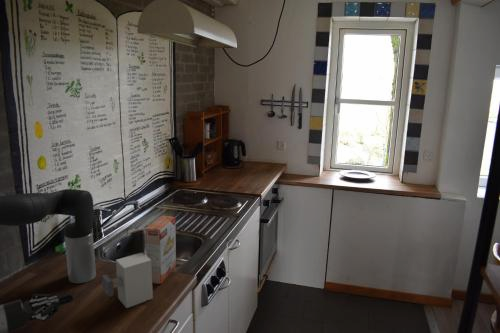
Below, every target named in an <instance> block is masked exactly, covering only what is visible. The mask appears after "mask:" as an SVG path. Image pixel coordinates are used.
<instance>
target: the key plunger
mask: <svg viewBox="0 0 500 333" xmlns="http://www.w3.org/2000/svg"><path fill="white" fill-rule="evenodd" d="M101 278H102V280H101V281H102V290H103V292H104V293H105V294H106V295H107V297H108V298H109V297H112V296H114V289H115V288H118V286H121V285H123V279H122V278H121V277H118V278H117V277H115V278H111V277H110V276H109V275H108V274H107V273H106V274H104V275H101Z"/></svg>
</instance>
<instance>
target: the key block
mask: <svg viewBox="0 0 500 333" xmlns="http://www.w3.org/2000/svg"><path fill="white" fill-rule="evenodd" d="M115 267H116V278H118V277H121V278H122V279H123V285H121V286H118V287H117V297H118V300H119V301H120V302H121V303H122V305H123V307H125V308H126V309H128V308H132V307H134V306H137V305H140V304H142V303H145V302H147V300H148V301H149V300H153V298H154V297H153V294H154V293H153V290H154V289H153V283H152V266H151V259H149V258H148V257H147V256H146V253H144V252H138V253H135V254H132V255H127V256H125V257H122V258H121V257H120V258H118V259H115Z"/></svg>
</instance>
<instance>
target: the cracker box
mask: <svg viewBox="0 0 500 333" xmlns="http://www.w3.org/2000/svg"><path fill="white" fill-rule="evenodd" d="M176 239H177V237H176V216H170V215H169V216H167V215H161V216H159V218H157V219H156V220H155V221H153V222H152V223H151V224H150V225H149V226H147V227H146V228H145V255H146V256H147V257H148V258H149V259H151V266H152V284H157V285H162V284H163V283H164V281H165V280H166V279H167V278H168V276H170V274H171V273H172V272H173V271H174V270H175V269H176V267H177V262H176V260H177V255H176V254H177V253H176V252H177V250H176V249H177V248H176V242H177V240H176Z"/></svg>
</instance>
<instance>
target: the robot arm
mask: <svg viewBox="0 0 500 333" xmlns="http://www.w3.org/2000/svg"><path fill="white" fill-rule="evenodd" d="M51 215H52V216H53V215H63V216H69V217H70V216H71V217H74V222H71V223H69V224H67V225H65V226H64V228H63V233H64V245H65V256H66V264H67V276H68V281H69V282H70V283H72V284H84V283H87V282H90V281H92V280H93V279H95V277H96V276H97V272H96V271H97V270H96V259H95V246H94V232H93V228H94V223H95V222H94V220H95V218H94V198H93V195H92V194H91V192H90V191H88V190H86V189H85V190H83V189H75V188H66V189H62V190H56V191H53V192H47V193H43V192H28V193H15V194H9V195H8V194H6V195H0V226H6V227H7V226H8V227H9V226H10V227H14V226H15V227H17V226H18V227H20V226H25V225H26V226H27V225H31V224H36V223H38V222H39V223H40V222H41V221H43V220H45V218H47V216H51ZM73 301H74V297H73V295H72V293H71V292H68V293H65V294H62V295H59V296H57V295H54V294H53V293H34V294H31V299H28V300H26V301H24V302H23V301H22V300H21V299H17V300H13V301H10V302H7V303H3V304H0V333H11V332H14V331H16V330H19V329H22V328H25V327H26V326H27V323H28V322H30V321H32V322H33V321H37V319H38V320H41V321H40V322H41V323H46V322H47V321H48V320H49V319H50V318H51V317H53V316H54V315H55V314H56V313H58V312H59V308H60V306H64V305H66V304H69V303H72V302H73Z"/></svg>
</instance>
